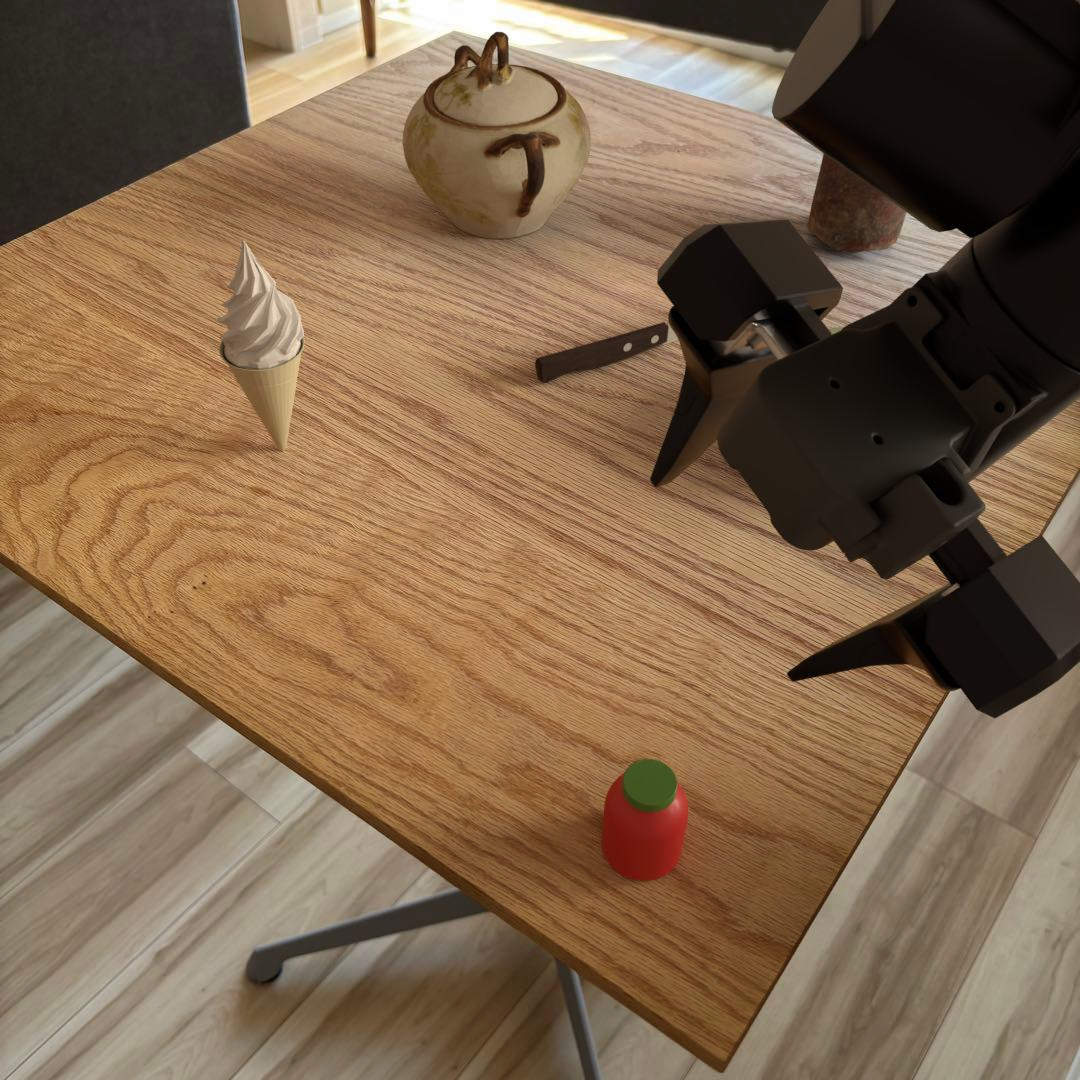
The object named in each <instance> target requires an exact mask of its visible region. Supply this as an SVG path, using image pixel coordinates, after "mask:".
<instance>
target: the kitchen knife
mask: <svg viewBox="0 0 1080 1080" xmlns="http://www.w3.org/2000/svg"><path fill="white" fill-rule="evenodd" d="M677 341H679V340H678V338H677V336H676V334H675V333H674V331H673V330H672V329H671V327H670V325H669V323H666V322H665V321H663V322H659V323H655V324H653V325H650V326H645V327H643V328H639V329H638V328H637V329H635V330H632V331H628V332H625V333H621V334H618V335H615V336H611V337H608V338H607V337H606V338H604V339H600V340H597V341H593V342H590V343H586V344H583V345H579V346H576V347H572V348H567V349H565V350H561V351H557V352H554V353H550V354H546V355H542V356H540V357H537V358H536V359H535V361H534V366H535V372H536V376H537V379H538V381H539V382H540V383H541V384H546V383H549V382H551V381H553V380H555V379H558V378H560V377H562V376H564V375H565V376H566V375H567V374H571V373H575V372H582V371H588V370H593V369H598V368H601V367H606V366H608V365H609V366H610V365H611V364H615V363H618V362H621V361H624V360H626V359H629V358H631V357H635V356H637V355H639V354H642V353H644V352H647V351H649V350H651V349H653V348H657V347H658V346H665V345H669V344H672V343H674V342H677Z"/></svg>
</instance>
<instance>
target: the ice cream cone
mask: <svg viewBox="0 0 1080 1080" xmlns="http://www.w3.org/2000/svg"><path fill="white" fill-rule="evenodd" d="M261 264H262V263H260V261H259V260H258V259H257V257H256V256H255V255H254V253H253V252H252V251H251V249H250V247H249V246H248V244H247V242H246V241H245V240H242V241H241V247H240V252H239V256H238V260H237V264H236V268H235V272H234V276H233V277H232V279H231V281H230V282H229V284H228V285H227V288H229V289H231V290H233V291H234V292H233V294H232V295H231V297H230V298H229V299H228V300H226V301H225V302H222V303H221V307H224V308H226V309H227V313H226V314H224V315H223V316H219V317H217V318H216V319H215V320H216V321H217V322H218V323H220V324H223V325H226V326H227V331H225V332H224V333H222V334H220V336H219V340H220V344H219V347H218V353H219V356H220V359H222V361H223V362H224V363H225V364H226V365H227V366H228V367H229V369H230V371H231V372H232V374H233V376H234V378H235V379H236V382H237V383H238V385H239V386H240V388H241V390H242V391H243V393H244V394H245V396H246V398H247V399H248V401H249V403H250V405H251V406H252V408H253V410H254V412H255V414H256V415H257V417H258V418H259V419H260V421H261V423H262V425H263V427H264V428H265V430H266V432H267V433H268V434H269V436H270V439H272V441H273V443H274V444H275V447H276V448H277V450H278V451H280V452H284V451H286V450H287V446H288V439H289V433H290V427H291V421H292V414H293V409H294V408H293V407H294V402H295V397H296V389H297V385H298V377H299V370H300V363H301V358H302V352H303V351H304V348H305V344H306V341H305V331H304V328H303V327H304V326H303V324H302V316H301V314H300V312H299V310H298V308H297V306H296V304H295V302H294V300H293V298H292V297H290V296H289V295H287V294H284V293H283V292H282V291H280V290H278V289H277V287H276V286H277V281H275V279H274V278H273V277H272V276H271V274H270V273H268V271H267V270H266V269H265V267H263V265H261Z"/></svg>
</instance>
